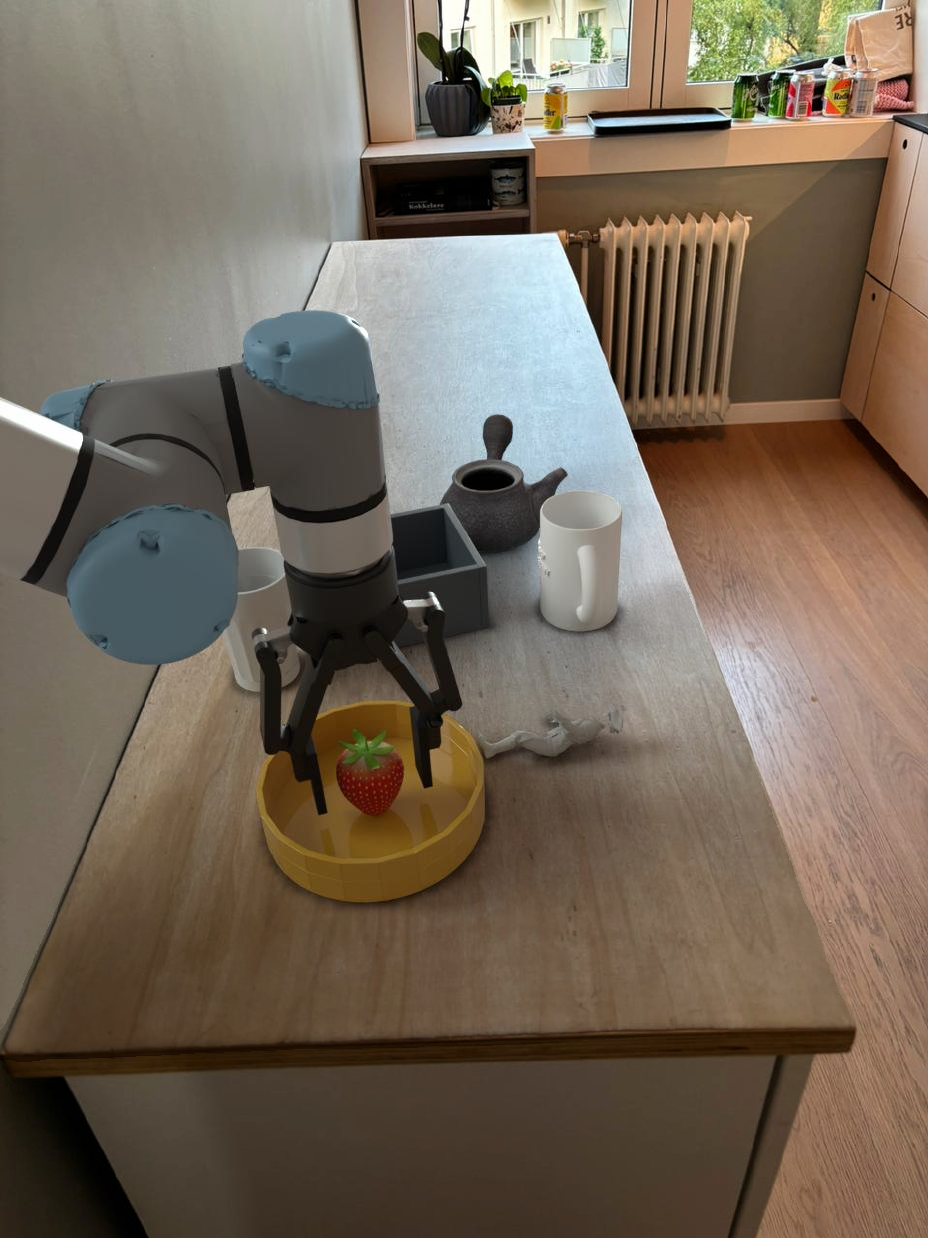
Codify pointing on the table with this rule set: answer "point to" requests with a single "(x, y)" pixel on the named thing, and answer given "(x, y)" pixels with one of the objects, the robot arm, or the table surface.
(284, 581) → the cup
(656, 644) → the table surface
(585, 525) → the mug
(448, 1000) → the table surface
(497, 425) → the teapot
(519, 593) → the table surface
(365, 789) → the fruit
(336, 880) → the bowl
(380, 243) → the table surface
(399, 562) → the bin
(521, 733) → the soldier figure
